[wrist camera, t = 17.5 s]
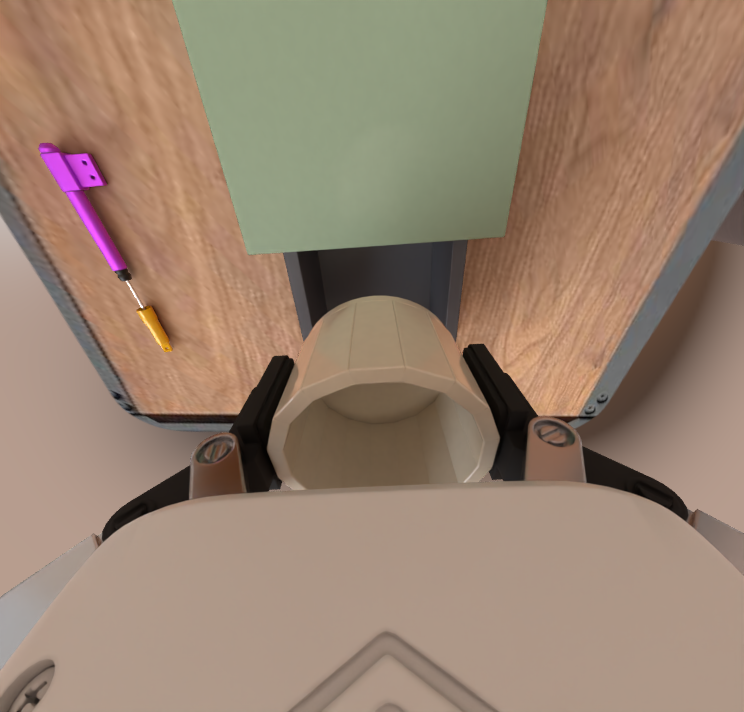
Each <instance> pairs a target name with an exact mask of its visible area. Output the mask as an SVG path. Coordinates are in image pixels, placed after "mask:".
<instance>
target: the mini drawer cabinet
mask: <svg viewBox="0 0 744 712" xmlns="http://www.w3.org/2000/svg"><path fill="white" fill-rule="evenodd" d="M547 1H548V0H172V2H173V5H174V8H175V12H176V15H177V18H178V22H179V25H180V28H181V32H182V35H183V39H184V42H185V45H186V49H187V52H188V55H189V59H190V62H191V65H192V69H193V72H194V75H195V79H196V82H197V85H198V89H199V92H200V95H201V99H202V102H203V106H204V109H205V112H206V116H207V119H208V122H209V126H210V129H211V132H212V136H213V139H214V142H215V146H216V149H217V152H218V156H219V159H220V163H221V166H222V169H223V173H224V176H225V179H226V183H227V186H228V189H229V193H230V196H231V199H232V203H233V206H234V209H235V213H236V216H237V219H238V223H239V226H240V230H241V233H242V236H243V240H244V243H245V246H246V250H247V253H248V255H256V254H270V253H285V252H299V251H313V250H327V249H342V248H356V247H370V246H384V245H399V244H413V243H427V242H442V241H456V240H470V239H484V238H499V237H504V236H505V232H506V226H507V221H508V215H509V210H510V204H511V199H512V193H513V188H514V182H515V177H516V171H517V166H518V160H519V155H520V149H521V144H522V138H523V133H524V127H525V122H526V116H527V111H528V105H529V100H530V94H531V89H532V83H533V78H534V72H535V67H536V61H537V56H538V50H539V45H540V39H541V34H542V28H543V23H544V17H545V12H546V6H547Z"/></svg>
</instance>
